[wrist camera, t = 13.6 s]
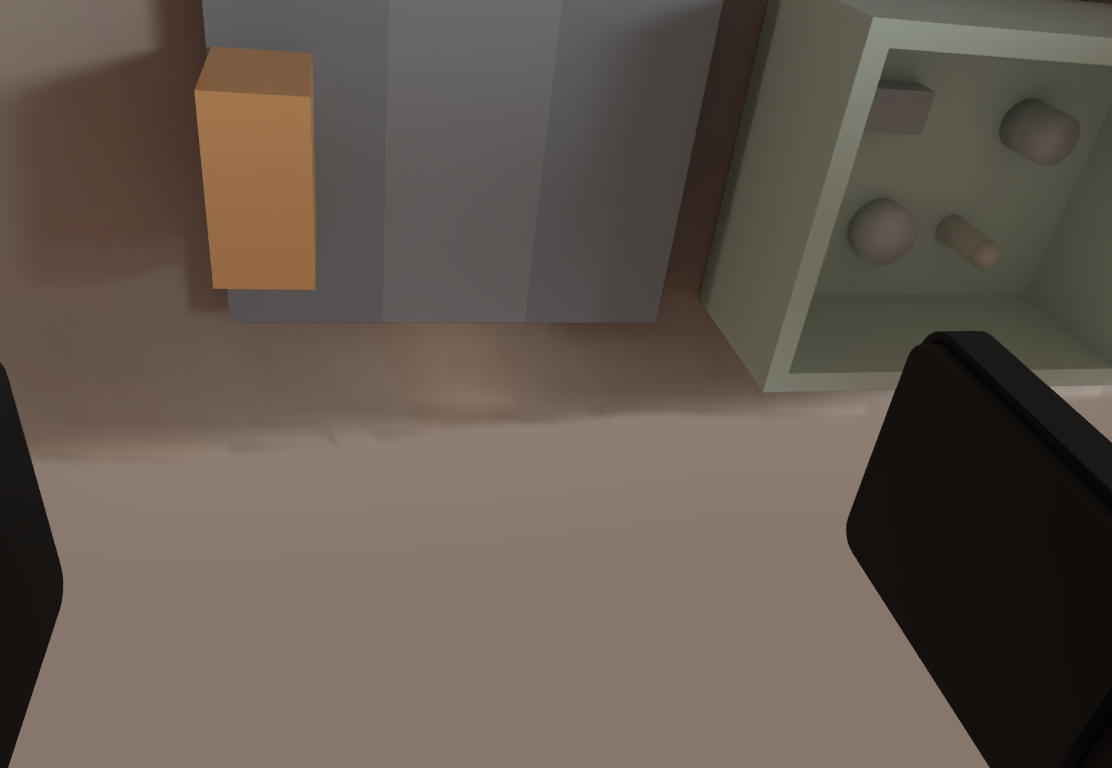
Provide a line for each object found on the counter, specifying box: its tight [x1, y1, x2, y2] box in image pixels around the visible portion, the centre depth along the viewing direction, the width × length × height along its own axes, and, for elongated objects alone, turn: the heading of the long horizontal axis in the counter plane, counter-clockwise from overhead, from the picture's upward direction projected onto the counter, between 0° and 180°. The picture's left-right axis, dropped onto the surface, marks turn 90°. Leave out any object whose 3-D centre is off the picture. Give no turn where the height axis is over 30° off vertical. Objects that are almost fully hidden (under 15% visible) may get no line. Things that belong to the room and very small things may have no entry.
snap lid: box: [194, 0, 724, 323], centre depth 30 cm, size 16×14×6 cm
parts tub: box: [699, 0, 1112, 392], centre depth 35 cm, size 16×13×8 cm
